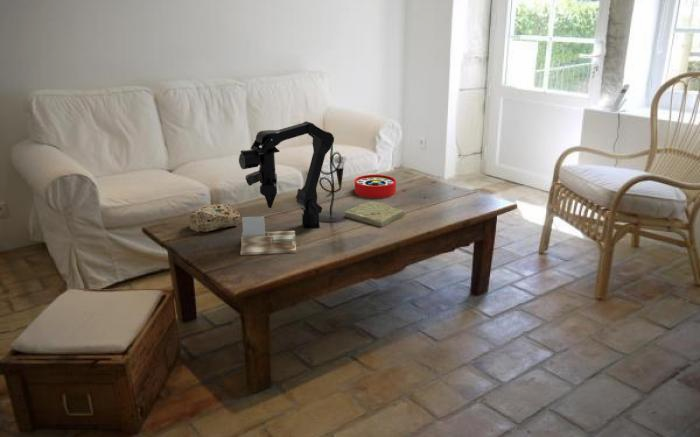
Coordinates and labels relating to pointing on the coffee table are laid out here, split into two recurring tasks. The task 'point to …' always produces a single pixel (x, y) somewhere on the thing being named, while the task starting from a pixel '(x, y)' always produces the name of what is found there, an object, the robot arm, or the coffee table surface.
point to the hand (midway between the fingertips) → (270, 203)
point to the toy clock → (375, 186)
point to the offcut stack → (282, 242)
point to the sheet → (253, 226)
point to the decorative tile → (375, 213)
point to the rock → (213, 217)
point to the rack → (264, 244)
